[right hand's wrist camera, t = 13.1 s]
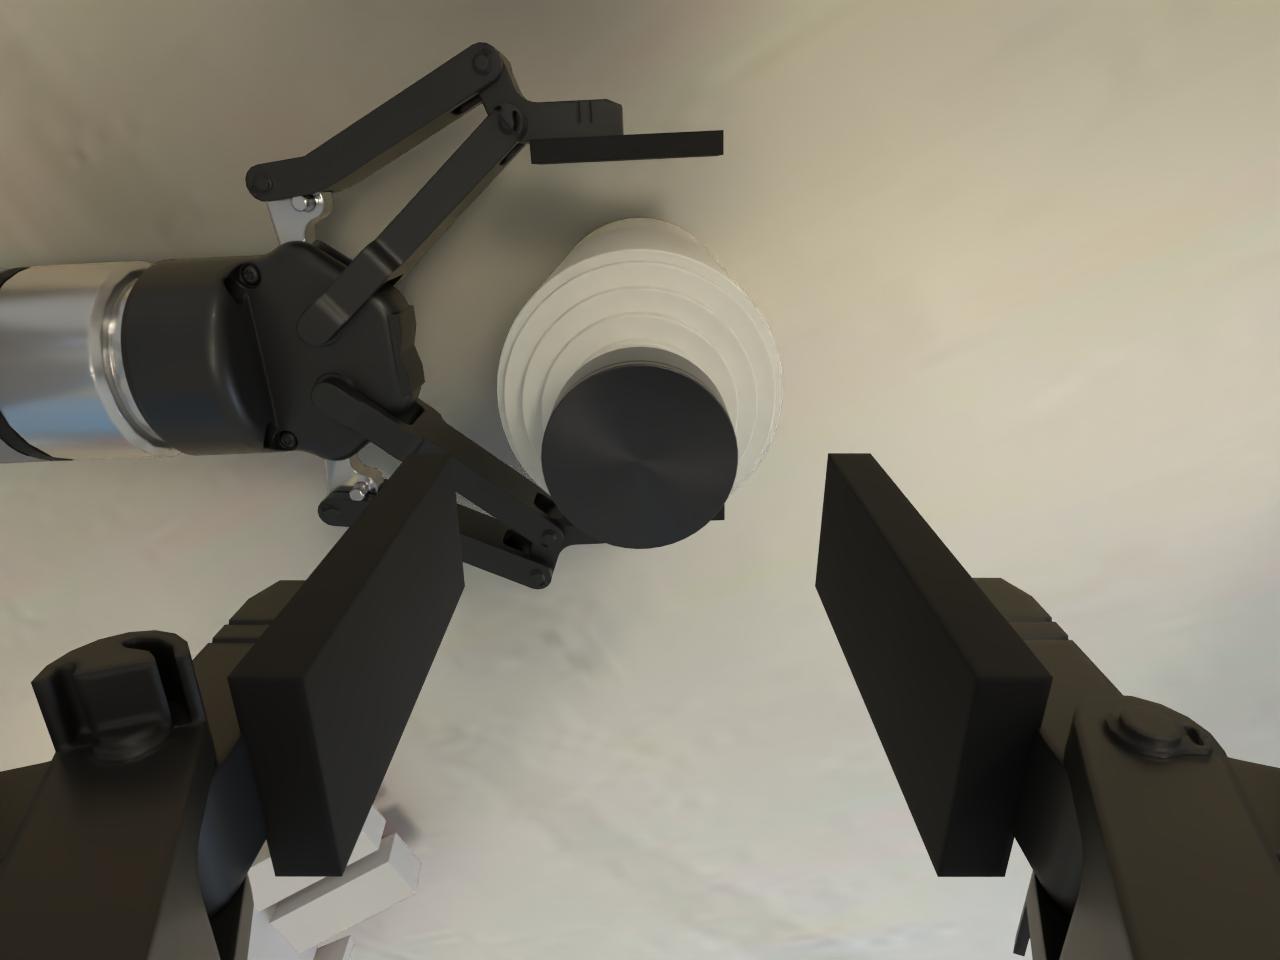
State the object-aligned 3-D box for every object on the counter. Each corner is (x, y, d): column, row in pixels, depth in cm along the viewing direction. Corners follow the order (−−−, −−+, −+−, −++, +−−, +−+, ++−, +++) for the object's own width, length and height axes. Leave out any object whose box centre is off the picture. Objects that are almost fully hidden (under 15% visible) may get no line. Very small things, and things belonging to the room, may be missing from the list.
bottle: (722, 207, 34) (817, 250, 16) (732, 386, 37) (822, 594, 19) (539, 228, 34) (425, 291, 16) (564, 403, 37) (493, 623, 19)
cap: (723, 337, 18) (732, 353, 16) (734, 509, 20) (743, 540, 18) (536, 356, 18) (526, 375, 16) (563, 524, 20) (555, 557, 18)
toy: (431, 1001, 39) (-64, 1254, 40) (458, 812, 52) (80, 1009, 53) (287, 841, 35) (-258, 1127, 36) (354, 679, 48) (-52, 896, 49)
